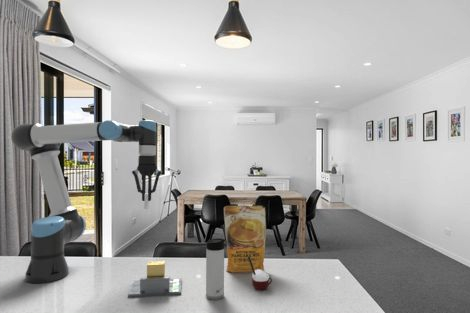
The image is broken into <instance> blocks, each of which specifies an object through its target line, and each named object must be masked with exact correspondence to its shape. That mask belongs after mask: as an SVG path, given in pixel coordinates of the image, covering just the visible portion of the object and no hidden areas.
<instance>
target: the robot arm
mask: <svg viewBox="0 0 470 313" xmlns="http://www.w3.org/2000/svg"><path fill="white" fill-rule="evenodd" d="M157 133H158V132H157V122H156V121H154V120H152V119H151V120H150V119H149V120H148V119H145V120H144V119H141V120H139V121H138V124H124V123H121V122H119V121H116V120H112V119H111V120H110V119H109V120H105V121H101V122H100V121H99V122H98V121H97V122H85V123H84V122H83V123H67V124H53V125H42V124H40V123H22V124H19V125H17V126H16V127H14V129H13V130H12V132H11V135H10V136H11V138H10V139H11V142H12V143H13V145H14V146H15V147H16V148H17V149H19V150H22V151H25V152H29V156H30V158H31V159H32V160H33V161H35V162H36V165H37V169H38V172H39V174H40V179H41V182H42V186H43V191H44V192H45V193H44V194H45V196H46V198H47V199H46V200H47V203H48V207H49V209H50V210H49V211H50V214H49V215H48V216H46V217H41V218H39V219H35V220H34V221H33V222H32V224H31V230H30V261H29V264H28V266H27V269H26V272H25V277H24V280H26V283H29V282H30V283H29V284H44V283H45V284H46V283H50V281H51V282H54V280H55V281H58V280H57V279H59V280H61V279H63V277H64V278H66V277H67V276H68V275H69V266H68V263H67V260H66V257H65V245H66V244H68V243H71V242H74V241H76V240H78V239H79V238H80V237H81V236H83V234H84V233H85V231H86V227H87V223H86V220H85V218H84V217H83V216H82V215H81V214H79V213H78V209H77V208H76V207H74V206H73V205H72V202H71V198H70V196H69V195H70V194H69V192H68V187H67V185H66V180H65V177H64V174H63V171H62V167H61V165H60V160H59V157H58V156H59V155H60V153H61V151H60V147H61V145H62V144H69V143H83V142H84V143H85V142H97V141H100V142H101V141H112V142H116V143H117V142H118V143H128V142H129V143H131V142H133V143H138V164H137V165H138V166H137V167H136V169H135V170H131V173H132V175H133V176H134V181H135V185H136V189H137V190H136V191H137V192H138V193H140V194H141V201H142V202H144V204H143V205H144V208H143V209H144V210H146V209H147V210H148V209H149V208H150V206H149V204H150V203H149V202H151V201H152V194H153V193H155V192H156V191H157V186H158V182H159V179H160V176H161V174H162V170H160V169H158V167H157V156H156V154H157ZM138 174H140V175H141V182H142V183H140V179H139V178H140V177H139V175H138ZM154 174H156V175H155V179H154V182H152V177H153V175H154ZM147 178H148V179H147ZM146 180H147V182H148V184H147V187H146ZM152 183H153V186H152ZM152 187H153V188H152ZM146 188H147V193H146ZM65 276H66V277H65ZM60 278H61V279H60Z"/></svg>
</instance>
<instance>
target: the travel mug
mask: <svg viewBox="0 0 470 313" xmlns="http://www.w3.org/2000/svg"><path fill="white" fill-rule="evenodd" d="M225 242H226V238H221V237H220V238H219V237H218V238H212V239H209V240H207V241H206V249H205V250H206V252H205V254H206V255H205V257H206V258H205V263H206V264H205V265H206V266H205V269H206V270H205V279H206V280H205V285H206V286H205V296H206V298H207V299H208V300H211V301H213V300H214V301H215V300H217V301H218V300H221V299H223V298H224V296H225Z"/></svg>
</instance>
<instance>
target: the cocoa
mask: <svg viewBox="0 0 470 313" xmlns="http://www.w3.org/2000/svg"><path fill="white" fill-rule="evenodd" d="M248 259H249V262H250V265H251V268H252V271H253V272H252V275H251V276H252V279H251V280H252V281H251V282H252V286H253V287H254V289H256V290H257V291H264V290H266V289H267V288H268V286H270V285H271V284H272V282H273V279H272V277H270V274H268V273H267V272H266V271H265V270H260V269H258V270H255V271H254V268H253V265H252V262H251V259H250V257H249V256H248Z"/></svg>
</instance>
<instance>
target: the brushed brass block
mask: <svg viewBox="0 0 470 313" xmlns="http://www.w3.org/2000/svg"><path fill="white" fill-rule="evenodd" d="M149 277H166V261H165V260H158V261H152V260H151V261H147V263H146V278H149ZM174 283H177V281H174V282H170V284H174Z"/></svg>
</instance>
